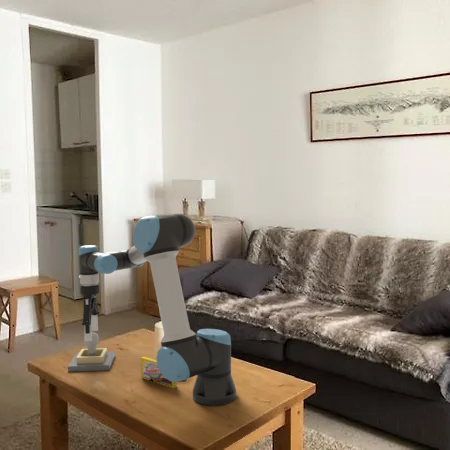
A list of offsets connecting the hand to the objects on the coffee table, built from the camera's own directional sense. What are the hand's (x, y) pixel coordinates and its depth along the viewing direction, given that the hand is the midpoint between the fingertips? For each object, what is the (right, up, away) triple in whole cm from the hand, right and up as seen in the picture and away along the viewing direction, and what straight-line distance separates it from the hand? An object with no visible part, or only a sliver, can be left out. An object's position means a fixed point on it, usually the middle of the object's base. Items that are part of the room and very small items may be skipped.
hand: (91, 335), depth 212 cm
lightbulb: (0, -10, +1) cm, 10 cm away
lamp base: (0, -12, +1) cm, 12 cm away
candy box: (+29, -14, -19) cm, 37 cm away
